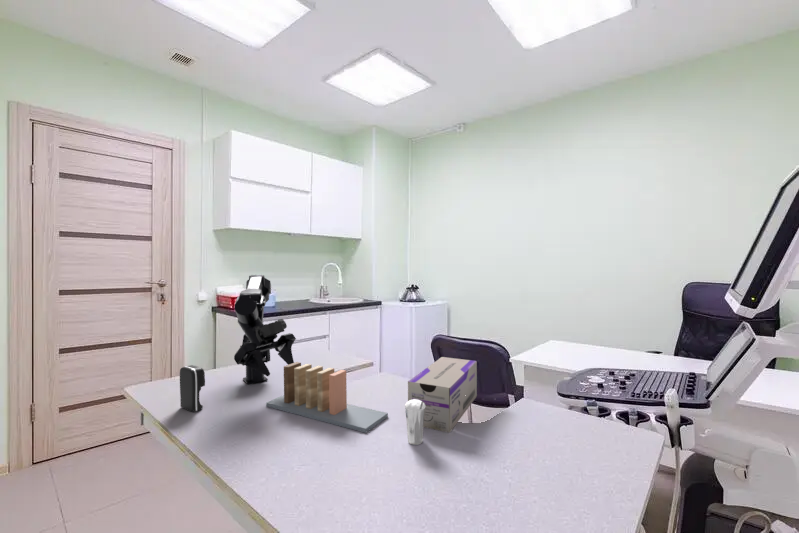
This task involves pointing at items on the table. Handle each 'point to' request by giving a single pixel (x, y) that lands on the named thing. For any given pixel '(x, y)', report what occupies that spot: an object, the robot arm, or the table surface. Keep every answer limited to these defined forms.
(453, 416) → the surgical sutures box
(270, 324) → the robot arm
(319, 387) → the maple domino
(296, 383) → the maple domino
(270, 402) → the slate board
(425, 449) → the table surface
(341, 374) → the terracotta domino
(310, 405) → the maple domino
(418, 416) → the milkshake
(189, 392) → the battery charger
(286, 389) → the walnut domino
